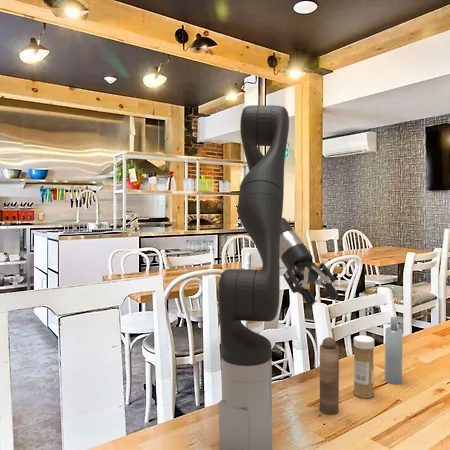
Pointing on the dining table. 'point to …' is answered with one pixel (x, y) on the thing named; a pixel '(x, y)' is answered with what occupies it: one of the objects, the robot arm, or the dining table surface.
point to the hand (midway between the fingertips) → (324, 301)
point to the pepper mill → (329, 377)
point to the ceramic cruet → (393, 352)
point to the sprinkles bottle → (363, 366)
